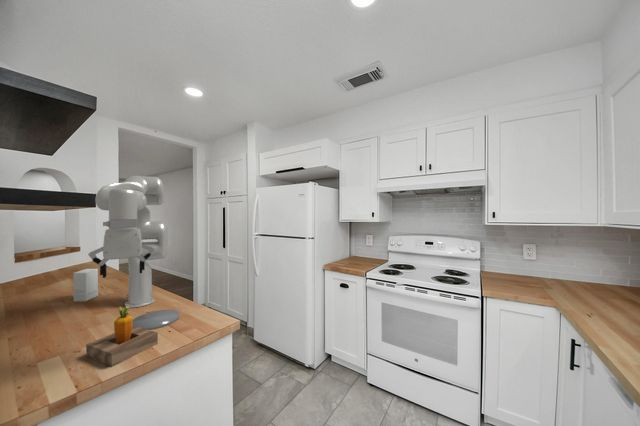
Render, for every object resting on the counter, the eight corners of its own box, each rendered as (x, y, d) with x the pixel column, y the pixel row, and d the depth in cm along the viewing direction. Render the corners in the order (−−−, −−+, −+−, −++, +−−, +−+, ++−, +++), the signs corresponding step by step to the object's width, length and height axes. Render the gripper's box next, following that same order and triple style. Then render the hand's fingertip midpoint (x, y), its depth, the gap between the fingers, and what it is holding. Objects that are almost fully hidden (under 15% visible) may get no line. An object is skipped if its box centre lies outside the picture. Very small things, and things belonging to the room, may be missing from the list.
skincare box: (86, 296, 134) (86, 268, 134) (99, 295, 134) (99, 268, 134) (72, 301, 125) (72, 272, 125) (86, 301, 126) (86, 272, 126)
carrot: (113, 349, 82) (113, 306, 82) (131, 344, 86) (131, 302, 86) (115, 355, 79) (115, 310, 79) (134, 349, 82) (134, 306, 82)
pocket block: (86, 356, 78) (86, 344, 78) (133, 335, 91) (133, 325, 91) (111, 366, 73) (111, 353, 73) (157, 343, 86) (157, 332, 86)
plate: (119, 325, 99) (119, 323, 99) (162, 309, 116) (162, 307, 116) (148, 334, 93) (148, 331, 93) (188, 315, 109) (188, 313, 109)
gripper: (86, 226, 74) (86, 281, 74) (154, 224, 84) (154, 272, 84) (90, 225, 80) (90, 276, 80) (153, 223, 90) (153, 269, 90)
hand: (123, 274), depth 82 cm, fingers open, 9 cm apart
